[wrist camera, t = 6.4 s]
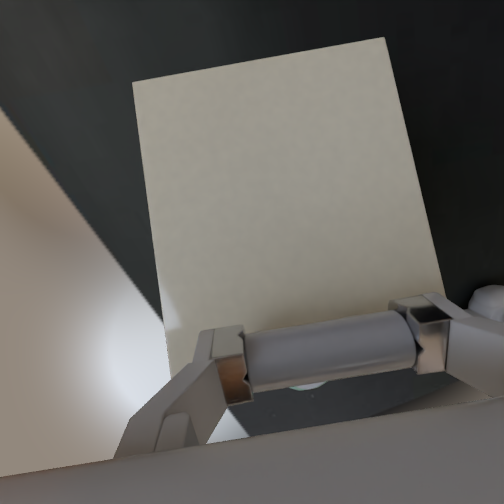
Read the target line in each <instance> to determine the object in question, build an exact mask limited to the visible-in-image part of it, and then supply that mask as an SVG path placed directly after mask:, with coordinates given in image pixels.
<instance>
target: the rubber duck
mask: <svg viewBox="0 0 504 504" xmlns="http://www.w3.org/2000/svg"><path fill="white" fill-rule="evenodd" d="M464 311H465V312H467V313H468V314H470V315H471V316H481V317H485V318H488V319H492V320H496V321H499V322H503V323H504V286H501V285H488V286H485V287H482V288H479V289H477V290H475V291H474V294H473V296H472V297H471V299H470V301H469V303H468V309H465V310H464Z"/></svg>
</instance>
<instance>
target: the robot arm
mask: <svg viewBox="0 0 504 504" xmlns="http://www.w3.org/2000/svg"><path fill="white" fill-rule="evenodd" d="M388 310H394V311H397V312H398V313H400V314H401V315H402V317H403V318H404V319H405V321H406V322H407V324H408V326H409V328H410V330H411V332H412V335H413V337H414V341H415V345H416V352H417V357H416V362H415V364H414V365H413V366H412V368H413V369H414V370H415V372H416V373H417V374H425V373H432V372H440V371H446V372H447V373H449V374H450V375H452V376H454V377H456V378H458V379H459V380H461V381H463V382H465V383H467V384H468V385H470V386H472V387H474V388H476V389H477V390H479V391H481V392H483V393H485V394H486V395H488V396H490V397H492V398H489V399H483V400H477V401H471V402H464V403H458V404H452V405H445V406H439V407H433V408H427V409H420V410H415V411H408V412H402V413H396V414H390V415H384V416H378V417H371V418H365V419H359V420H353V421H346V422H340V423H334V424H328V425H322V426H316V427H309V428H303V429H297V430H291V431H285V432H278V433H272V434H266V435H260V436H253V437H247V438H241V439H235V440H229V441H223V442H216V443H211V444H206V443H207V441H208V439H209V438H210V436H211V434H212V432H213V431H214V429H215V427H216V426H217V424H218V422H219V421H220V419H221V417H222V416H223V414H224V412H225V410H226V409H227V406H231V405H236V404H241V403H246V402H252V401H253V392H252V389H251V385H250V382H249V379H248V375H247V362H246V353H245V346H244V337H245V334H246V333H245V328H244V325H243V324H242V325H235V326H228V327H221V328H215V329H208V330H203V331H200V333H199V336H198V340H197V344H196V349H195V353H194V357H193V362H192V363H188V364H187V365H186V366H185V367H184V368H183V369H182V370H181V371H180V372H179V373H177V374H176V375H175V376H174V377H173V378H172V379H171V380H170V381H169V382H168V383H167V384H166V385H165V386H164V387H163V388H162V389H161V390H160V391H159V392H158V393H157V394H156V395H154V396H153V397H152V398H151V399H150V400H149V401H148V402H147V403H146V404H145V405H144V406H143V407H142V408H141V409H140V410H139V411H138V412H137V413H136V414H135V415H133V416H132V417H131V418H130V420H129V422H128V424H127V427H126V429H125V431H124V434H123V436H122V439H121V441H120V443H119V446H118V448H117V450H116V453H115V455H114V458H113V459H110V460H104V461H98V462H91V463H85V464H79V465H73V466H66V467H60V468H54V469H48V470H42V471H36V472H29V473H23V474H17V475H10V476H4V477H0V504H504V323H503V322H499V321H496V320H492V319H488V318H485V317H481V316H471V315H470V314H468V313H467V312H465V311H464V310H463V309H461V308H460V307H458V306H457V305H455V304H454V303H452V302H451V301H449V300H448V299H446V298H445V297H443V296H442V295H441V294H439V293H437V292H430V293H425V294H420V295H416V296H411V297H405V298H400V299H395V300H389V303H388Z"/></svg>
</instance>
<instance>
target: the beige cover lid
mask: <svg viewBox="0 0 504 504" xmlns="http://www.w3.org/2000/svg"><path fill="white" fill-rule="evenodd" d="M132 86H133V93H134V101H135V108H136V116H137V124H138V131H139V139H140V146H141V154H142V161H143V169H144V177H145V184H146V192H147V199H148V207H149V215H150V222H151V230H152V237H153V245H154V252H155V260H156V268H157V275H158V283H159V290H160V298H161V306H162V313H163V321H164V328H165V336H166V343H167V351H168V358H169V366H170V374H171V379H172V378H173V377H174V376H175V375H176V374H177V373H179V372H180V371H181V370H182V369H183V368H184V367H185V366H186V365H187V364H188V363H192V362H193V357H194V353H195V349H196V344H197V340H198V336H199V333H200V331H203V330H208V329H215V328H221V327H228V326H235V325H242V324H243V325H244V328H245V333H246V334H245V337H244V346H245V353H246V362H247V375H248V379H249V382H250V385H251V389H252V392H254V393H257V392H263V391H270V390H276V389H282V388H288V387H294V386H300V385H307V384H313V383H319V382H325V381H331V380H337V379H344V378H350V377H356V376H362V375H368V374H374V373H381V372H387V371H393V370H399V369H405V368H410V367H412V366H413V365H414V364H415V362H416V357H417V352H416V345H415V341H414V337H413V335H412V332H411V330H410V328H409V326H408V324H407V322H406V321H405V319H404V318H403V317H402V315H401V314H400V313H398V312H397V311H394V310H388V303H389V300H395V299H400V298H405V297H411V296H416V295H420V294H425V293H430V292H437V293H439V294H441V295H442V296H443V297H445V298H446V295H445V291H444V287H443V282H442V278H441V274H440V270H439V265H438V261H437V257H436V253H435V248H434V244H433V240H432V236H431V232H430V227H429V223H428V219H427V215H426V210H425V206H424V202H423V198H422V194H421V189H420V185H419V181H418V177H417V172H416V168H415V164H414V160H413V155H412V151H411V147H410V143H409V139H408V134H407V130H406V126H405V122H404V117H403V113H402V109H401V105H400V101H399V96H398V92H397V88H396V84H395V79H394V75H393V71H392V67H391V62H390V58H389V54H388V50H387V46H386V41H385V38H384V37H381V38H375V39H370V40H364V41H359V42H353V43H347V44H342V45H336V46H331V47H325V48H320V49H314V50H309V51H303V52H297V53H292V54H286V55H281V56H275V57H270V58H264V59H259V60H253V61H247V62H242V63H236V64H231V65H225V66H220V67H214V68H209V69H203V70H197V71H192V72H186V73H181V74H175V75H170V76H164V77H159V78H153V79H147V80H142V81H136V82H132Z"/></svg>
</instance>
